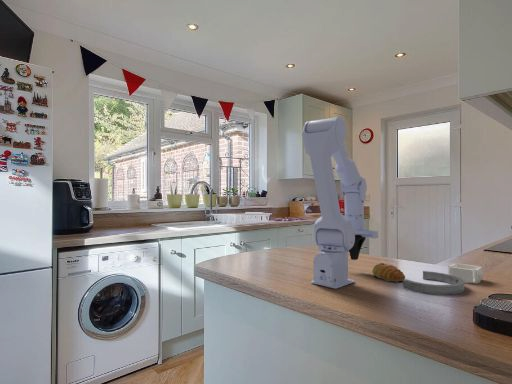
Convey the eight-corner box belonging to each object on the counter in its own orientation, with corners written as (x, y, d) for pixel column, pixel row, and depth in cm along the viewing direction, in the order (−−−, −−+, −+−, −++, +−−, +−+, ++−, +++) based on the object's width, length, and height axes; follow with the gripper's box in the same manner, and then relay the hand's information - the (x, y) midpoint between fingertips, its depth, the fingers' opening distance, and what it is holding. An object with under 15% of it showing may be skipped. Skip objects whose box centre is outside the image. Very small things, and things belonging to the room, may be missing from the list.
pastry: (411, 282, 89) (411, 268, 89) (391, 284, 87) (391, 270, 87) (388, 274, 98) (388, 261, 98) (369, 276, 96) (369, 263, 96)
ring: (454, 299, 74) (453, 290, 74) (401, 288, 82) (401, 280, 82) (472, 285, 84) (471, 277, 84) (424, 277, 93) (424, 270, 93)
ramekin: (476, 285, 85) (476, 270, 85) (447, 280, 90) (447, 266, 90) (483, 280, 90) (483, 266, 90) (454, 275, 95) (454, 262, 95)
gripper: (382, 215, 98) (383, 260, 98) (340, 213, 108) (341, 254, 108) (371, 217, 93) (372, 264, 93) (328, 214, 104) (329, 257, 104)
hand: (354, 259), depth 100 cm, fingers closed
